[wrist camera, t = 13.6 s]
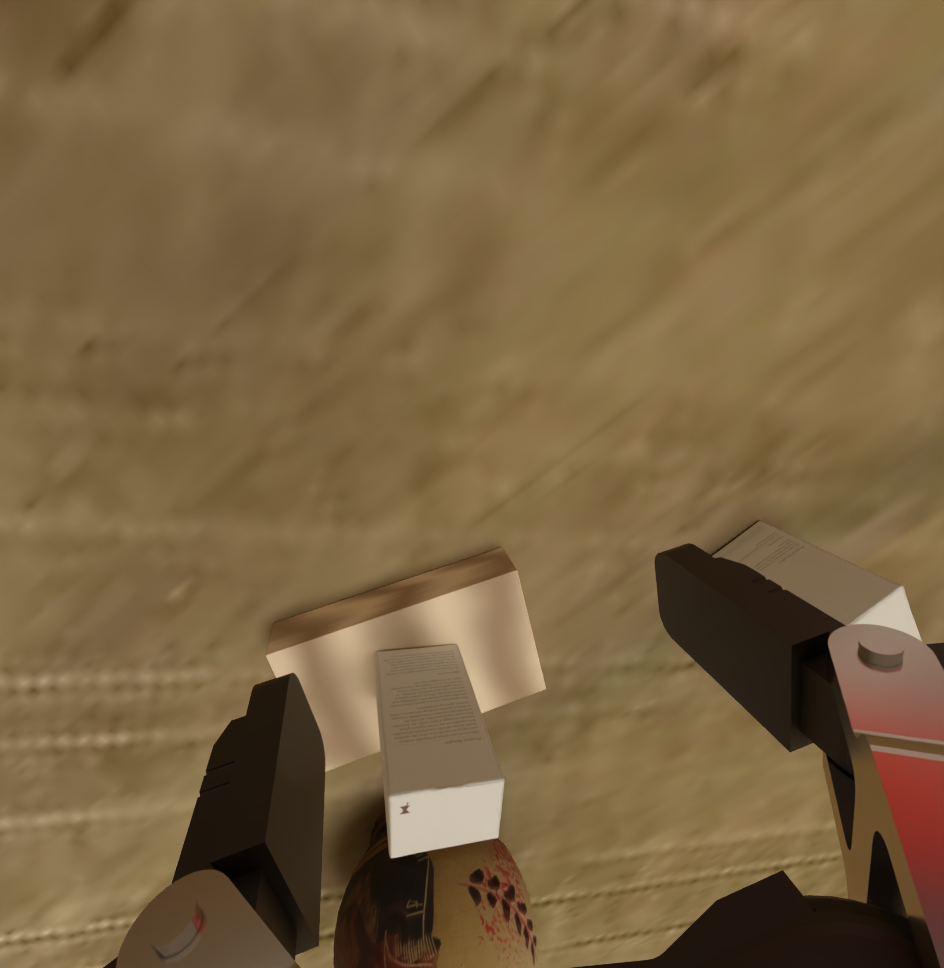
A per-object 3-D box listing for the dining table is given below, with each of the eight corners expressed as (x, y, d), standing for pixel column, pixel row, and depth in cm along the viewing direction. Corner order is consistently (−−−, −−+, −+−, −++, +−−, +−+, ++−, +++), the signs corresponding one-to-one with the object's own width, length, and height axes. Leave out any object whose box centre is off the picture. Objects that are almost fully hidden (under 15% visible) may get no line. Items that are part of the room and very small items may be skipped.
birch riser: (324, 733, 42) (321, 773, 38) (274, 622, 38) (265, 655, 34) (529, 658, 44) (546, 689, 40) (501, 547, 40) (517, 569, 36)
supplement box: (723, 621, 48) (846, 718, 36) (693, 565, 45) (815, 650, 33) (787, 575, 48) (930, 657, 36) (761, 516, 45) (906, 584, 33)
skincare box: (375, 700, 37) (385, 862, 26) (375, 649, 36) (385, 796, 25) (457, 691, 38) (501, 841, 27) (460, 642, 37) (506, 778, 26)
